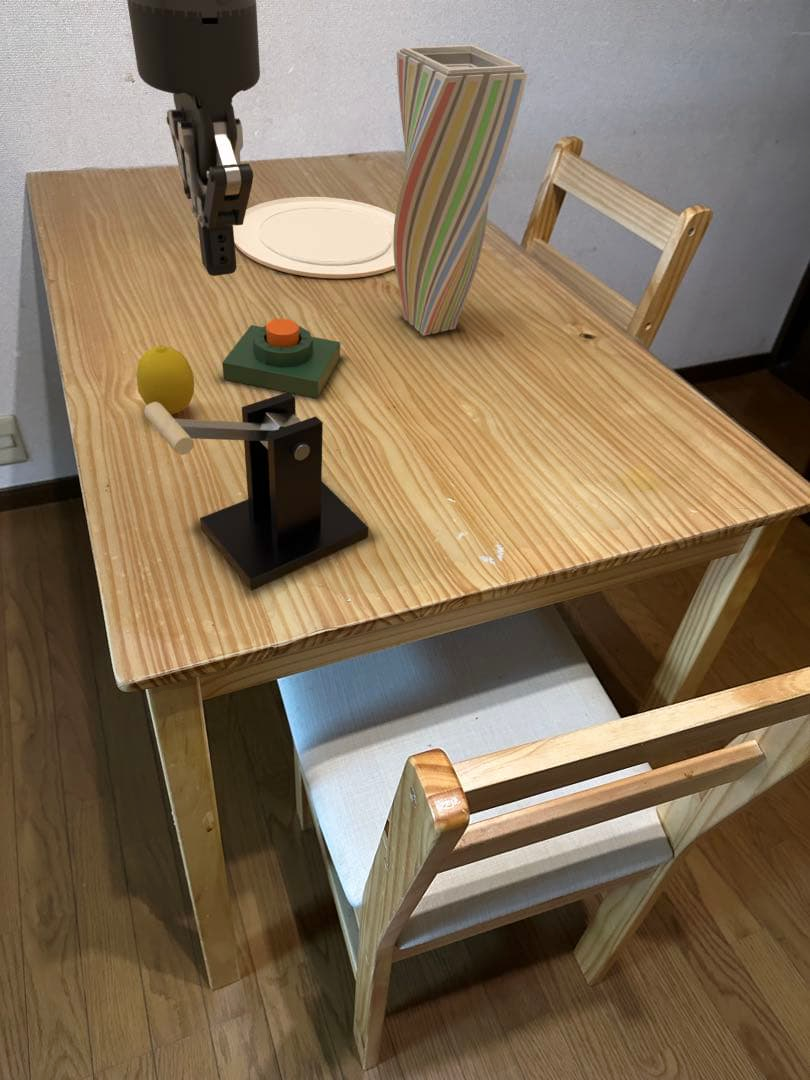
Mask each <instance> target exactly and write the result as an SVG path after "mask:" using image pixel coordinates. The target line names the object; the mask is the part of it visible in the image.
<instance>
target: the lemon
mask: <svg viewBox="0 0 810 1080" xmlns="http://www.w3.org/2000/svg"><path fill="white" fill-rule="evenodd" d="M187 359H188V358H187V357H186V356H185V355H184V354H183V353H182V352H181V351H179V350H177V349H176V348H174V347H170V346H167V345H163V344H158V345H157V346H154V347H152V348H150V349H148V350H147V351H145V352H144V353H143V355H142V356H141V357H140V359H139V361H138V364H137V367H136V382H137V383H136V384H137V385H136V386H137V389H138V390H137V391H138V392H139V395H140V397H141V399H142V400H143V402H144V403H145V405H146V406H147V405H148V404H150V403H152V402H158V403H160V404H161V405H162V406H163V407H164V408H165V409H166V410H167V411H168V413H169V414H170V415H171V416H173V415H175V414H177V413H179V412H181V411H183V410H184V409H186V408H187V407H188V406H189V404H190V403H191V401H192V400H193V397H194V392H195V379H194V378H195V376H194V372H193V370H192V368H191V366H190V363H189V360H187Z"/></svg>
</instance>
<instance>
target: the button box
mask: <svg viewBox="0 0 810 1080" xmlns="http://www.w3.org/2000/svg"><path fill="white" fill-rule="evenodd" d="M298 326H299V343H298V344H297V345H295V346H292V347H276V346H272V345H270V344H268V342H267V335H266V325H264V326H259V325H254V324H250V326H249V327H248V328H247V330H246V331H245V332H244V334H243V335H242V336H241V338H240V339H239V340H238V342H237V343H236V344H235V345H234V347H233V348H232V349H231V350H230V352H229V353H228V354H227V356H226V357H225V358H224V359H223V360H222V362H221V364H222V373H223V374H222V375H223V380H226V381H231V382H236V383H241V384H245V385H251V386H256V387H261V388H265V389H271V390H275V391H279V392H284V393H287V392H290V393H291V394H295V395H300V396H304V397H305V396H306V397H310V398H315V399H319V397H320V395H321V394H322V391H323V389H324V387H325V386H326V384H327V382H328V381H329V379H330V377H331V375H332V373H333V371H334V369H335V368H336V366H337V364H338V363H339V361H340V359H341V341H338V340H337V341H336V340H332V339H327V338H322V337H315V336H312V334H311V332H310V331H309V330H308V329H306V328H305V327H302V326H300V325H298Z"/></svg>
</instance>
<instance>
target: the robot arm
mask: <svg viewBox="0 0 810 1080" xmlns="http://www.w3.org/2000/svg"><path fill="white" fill-rule="evenodd" d="M126 2H127V8H128V15H129V22H130V28H131V36H132V43H133V47H134V48H133V49H134V55H135V61H136V67H137V72H138V75H139V77H140V78H141V80H142V81H143V82H144V83H145V84H146V85H148V86H149V87H151V88H153V89H156V90H159V91H161V92H165V93H169V94H172V97H173V102H174V109H168V110H167V111H166V123H167V125H168V126H169V127H168V128H169V131H170V136H171V139H172V144H173V147H174V148H173V149H174V150H175V156H176V160H177V164H178V167H179V173H180V177H181V179H182V184H183V193H184V194H185V195H186V198H187V200H190V201H191V205H190V209H191V212H192V214H193V217H194V218H195V219H196V221H197V222H196V223H197V229H198V230H197V231H198V237H199V238H198V239H199V247H200V254H201V256H200V257H201V264H202V265H203V267H204V268H205V270H206V272H207V273H208V275H210V276H212V277H216V276H217V277H218V276H224V275H231V274H233V273H235V272H236V270H237V257H236V256H237V255H236V245H235V243H234V232H233V225H243V222H244V218H245V213H246V209H248V204H249V200H250V195H251V191H252V187H253V183H254V182H253V181H254V172H253V169H252V167H251V165H250V163H241V151H242V149H243V148H244V136H243V126H242V125H243V124H242V122H241V120H240V118H238V117H237V118H236V117H235V109H234V106H233V104H232V103H233V98H234V97H235V96H236V95H237V94H238V93H240V92H246V91H248V90H250V89H252V88H253V87H255V86H256V85H257V83H258V82H259V81H260V77H261V65H260V63H261V62H260V48H259V29H258V10H257V0H126Z"/></svg>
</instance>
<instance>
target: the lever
mask: <svg viewBox="0 0 810 1080" xmlns="http://www.w3.org/2000/svg"><path fill="white" fill-rule="evenodd" d="M143 413H144V417H145V418H146V419H147V420H148V422H149V423H150V424H151V425H152V427H153V428H154V429H155V430H156V431H157V433H158V434H160V435H161V437H162V439H164V440H165V441H166V443H167V444H168V445H169V446H170V448H171V449H172V450H173V451H174V452H175V453H176V454H177V455H181V456H184V455H187V454H188V453H190V452H191V451H192V450H193V448H194V446H195V443H194V439H196V440H199V439H200V440H221V441H222V440H223V441H224V440H226V441H244V440H248V441H260V442H261V443H262V444H263V445H264V446H265V447H266V448H267V449H268V435H267V433H269V432H272V431H275V430H278V429H280V428H283V427H286V426H289V425H292V424H295V423H298V422H301V421H302V420H300V419H299V418H298V417H297V415H296V416H295V415H294V414H280V413H266V414H265V416H264V419H263V422H262V423H244V422H243V421H242V422H241V421H223V420H209V419H208V420H205V419H191V418H190V419H189V418H188V419H187V418H174V417H173V415H170V414H169V413H168V411H167V410H166V409H165V408H164V407H163V406H162V405H161V404H160V403H158V402H152V403H150V404H148V405H147V404H146V405H145V408H144V411H143Z"/></svg>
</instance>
